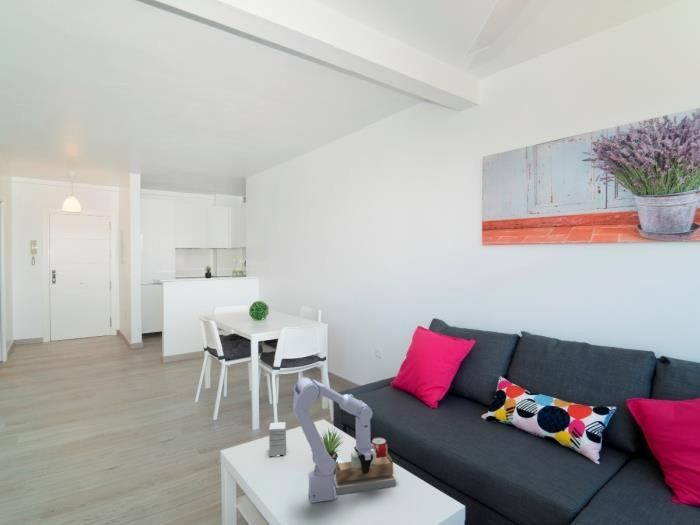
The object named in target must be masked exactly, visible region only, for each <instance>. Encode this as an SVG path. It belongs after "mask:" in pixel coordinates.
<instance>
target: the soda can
mask: <svg viewBox="0 0 700 525" xmlns="http://www.w3.org/2000/svg"><path fill="white" fill-rule="evenodd" d="M371 444H373V445H374V447H373V448H371V449H374V451H375V453H376V458H381V457H386V455H388V454H389V452H388V449H389V448H388V443H387V440H386V439H385V438H383V437H374V438H372V440H371Z"/></svg>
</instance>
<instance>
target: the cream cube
mask: <svg viewBox="0 0 700 525" xmlns="http://www.w3.org/2000/svg"><path fill="white" fill-rule="evenodd" d="M370 454H371V455H373V460H372V462H371V464H370V465H372V464H376V453H375V451H374V449H371V452H370Z"/></svg>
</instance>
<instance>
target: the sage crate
mask: <svg viewBox="0 0 700 525" xmlns="http://www.w3.org/2000/svg"><path fill="white" fill-rule="evenodd" d="M350 455H351V456H350V458H351V459H350V460H351V461H350V462H351V463H352V465H353V467H354V468H357V467H361V462H360V459H359V457H358V455H363V454H362V453H360V452H359V451H358V452H356V451H351V452H350Z"/></svg>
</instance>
